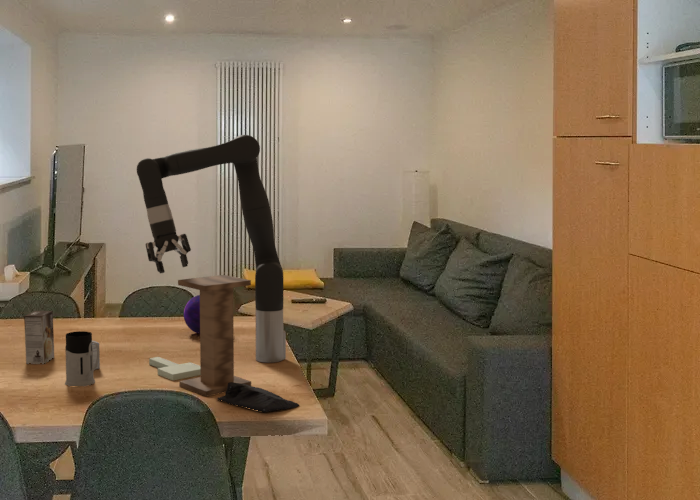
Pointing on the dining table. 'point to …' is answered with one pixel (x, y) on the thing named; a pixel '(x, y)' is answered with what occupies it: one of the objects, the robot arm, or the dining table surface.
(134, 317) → the dining table surface
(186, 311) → the decorative orb
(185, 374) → the paddle board
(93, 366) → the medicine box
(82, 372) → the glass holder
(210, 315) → the walnut stand
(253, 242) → the robot arm
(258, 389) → the black folded cloth
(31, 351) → the coffee box
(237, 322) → the dining table surface
